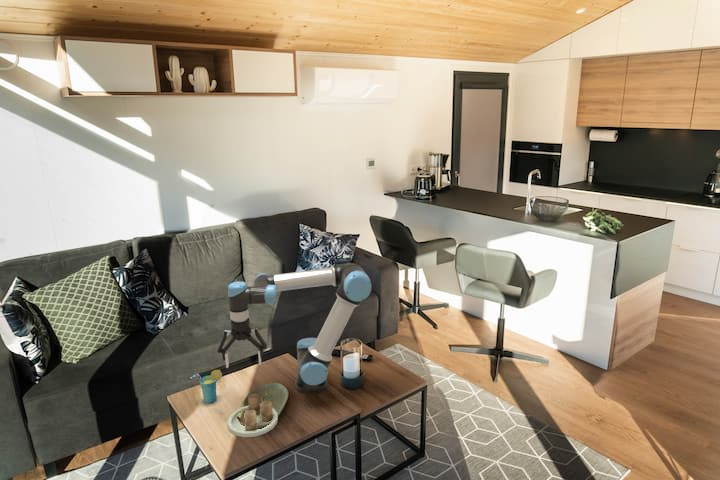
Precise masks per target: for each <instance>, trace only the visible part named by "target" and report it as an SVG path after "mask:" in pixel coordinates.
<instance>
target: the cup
mask: <svg viewBox="0 0 720 480" xmlns="http://www.w3.org/2000/svg"><path fill="white" fill-rule="evenodd" d="M196 377H198V378H199V385H200V386H201V392H202V397H203V400H204V404H206V405H211V404H214V403H216V402H217V383H218V382H217V381H219V380H221V379H222V377H223V373H222V372H221V370H220V369H215V370H213V371H211V373H210V375H204V376H202V377H201V375H200V374H198V373H196V374H193V375H192V376H190V377H189V379H190V380H192V379H194V378H196Z"/></svg>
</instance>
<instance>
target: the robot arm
mask: <svg viewBox="0 0 720 480" xmlns="http://www.w3.org/2000/svg"><path fill="white" fill-rule="evenodd" d="M323 286H333V287H338V288H337V290H336V292H335V295H336V300H335V302H334V303H333V306H332V307H331V309H330V311H329V314H328V316H327V318H326V319H325V322H324V324H323V326H322V327H321V329H320V332H319V333H318V336H317V337H305V338H301V339H299V340H298V341H297V342H296V352H297V355H296V356H297V370H298V371H297V375H296V377H295V381H294V386H295V389H296V390H297V392H300V393H307V394H308V393H315V394H317V393H321V392H323V391H324V390H326V388H327V387H328V375H329V370H328V368H329V367H330V365H331V362H332V360H333V356H332V354H333V351H334V349H335V347H336V346H337V343H338V342H339V340H340V337H341V336H342V334H343V331H344V329H345V328H346V326H347V324H348V321H349V320H350V318H351V316H352V313H354V309H355V308H357V307H358V306H361V304H362V302H363V301H365V300H366V299H367V298H368V297H369V296H370V294H371V292H372V282H371V278H370V277H369V275H368V274H367V273H366V272H365V270H364V269H363V267H362V266H361V265H359V264H356V263H351V262H349V263H339V264H333V265H331V266H330V267H327V268H318V269H317V268H316V269H311V270H303V271H294V272H287V273H278V274H270V275H269V274H267V273H258V275H256V276H255V278H254V281H253V286H248V285H247V283H246V282H245V281H241V280H240V281H239V280H238V281H233V282H231V283H229V284H228V286H227V296H228V297H227V298H228V306H229V317H230V326H231V327H230V328H231V329H230V330H228V329H224V332H223V336H222V340H221V342H220V344H219V346H218V348H217V353H218V354H222V360H223V361H225V368H226V369H229V364H230V363H229V362H230V361H229V354H228V353H229V352H228V350H229V349H230V348H231V346H232V344H233V343H235V341H237V342H238V341H245V340H247V341H248V342H250V343H251V344H252V345H254V347H256V348H257V355H258V365H259V366H261V365H262V358H264V350H266V349H267V348H268V344H267V342H266V341H265V340H264V338H263V336H262V335H261V333H260V332H259V328H258V327H257V326H256V327H255V328H251V323H250V313H249V306H252V305H268V304H269V305H270V304H274V303H276V302H278V301H277V300H278V295H277V292H284V291H291V290H299V289H307V288H315V287H323ZM252 333H253V335H255V338H256V339H257V340H258V341H259V342H258V341H257V340H256V339H255V338H254V337H253V336H252ZM229 335H231V336H232V337H231V338H230V340H228V342H227V344H226V345H225V343H226V340H227V337H230V336H229ZM224 345H225V346H224Z"/></svg>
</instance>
